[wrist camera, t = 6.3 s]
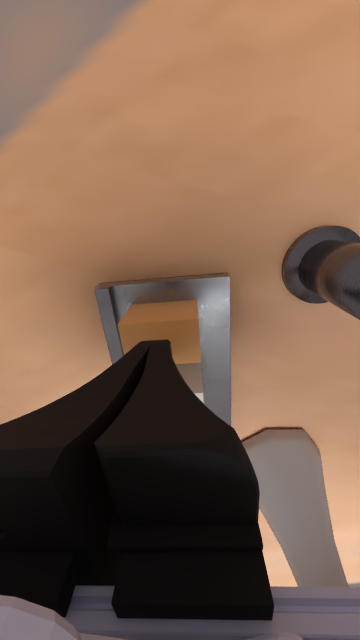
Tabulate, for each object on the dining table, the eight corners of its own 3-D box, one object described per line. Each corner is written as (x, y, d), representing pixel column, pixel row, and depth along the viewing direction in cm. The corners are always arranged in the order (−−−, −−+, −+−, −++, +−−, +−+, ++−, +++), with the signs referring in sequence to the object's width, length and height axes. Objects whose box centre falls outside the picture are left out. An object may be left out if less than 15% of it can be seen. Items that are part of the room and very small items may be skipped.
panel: (227, 272, 14) (231, 278, 13) (229, 437, 20) (232, 454, 18) (100, 283, 15) (91, 290, 13) (136, 440, 20) (131, 457, 19)
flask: (223, 436, 20) (253, 622, 11) (310, 415, 19) (428, 604, 10) (245, 488, 23) (284, 673, 13) (323, 473, 21) (425, 665, 12)
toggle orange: (196, 299, 14) (198, 318, 11) (198, 336, 15) (201, 362, 12) (131, 304, 14) (117, 324, 12) (137, 340, 15) (126, 367, 13)
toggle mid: (200, 362, 16) (203, 392, 13) (202, 392, 17) (205, 426, 14) (142, 366, 16) (132, 396, 13) (147, 395, 17) (139, 428, 14)
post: (366, 222, 13) (495, 223, 8) (350, 297, 15) (447, 343, 9) (285, 229, 13) (353, 236, 8) (279, 302, 15) (332, 350, 10)
